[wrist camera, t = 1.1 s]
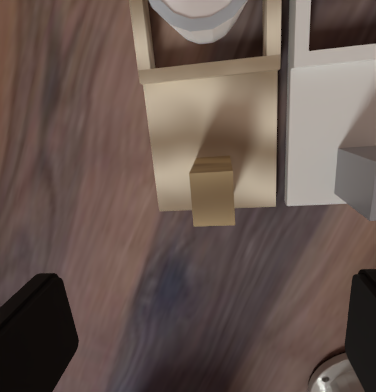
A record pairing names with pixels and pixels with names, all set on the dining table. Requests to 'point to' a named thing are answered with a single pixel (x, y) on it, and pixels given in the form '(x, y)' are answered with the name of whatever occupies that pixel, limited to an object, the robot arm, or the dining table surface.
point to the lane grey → (329, 121)
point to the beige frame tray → (212, 125)
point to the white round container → (200, 17)
